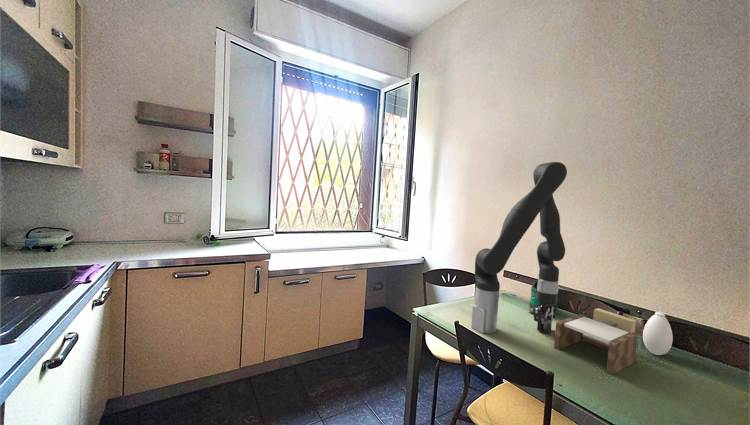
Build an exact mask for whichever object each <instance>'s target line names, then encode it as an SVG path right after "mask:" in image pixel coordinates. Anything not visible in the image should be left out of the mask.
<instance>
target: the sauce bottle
mask: <svg viewBox="0 0 750 425" xmlns="http://www.w3.org/2000/svg"><path fill="white" fill-rule="evenodd" d="M642 340H643V341H642V342H643V344H644V346H645V348H646V349H647V350H648V351H649V353H651V354H653V355H655V356H662V355H665V354H667V353H668V352H669V351H670V349H671V347H672V345H673V340H674V337H673V331H672V328H671V325H670V323H669V320H668V319H667V317H666V314H665V313H663V312H662V305H660V307H659V311H656V312H654V314H653V315H651V317H650V318H648V320H647V321H646V323H645V325H644V327H643V332H642Z"/></svg>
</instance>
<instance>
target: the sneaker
mask: <svg viewBox="0 0 750 425" xmlns="http://www.w3.org/2000/svg"><path fill="white" fill-rule="evenodd" d="M537 284H538V280H537V281H536V280H535V282H534V283H532V285H531V288H530V301H529V309H528V312H529V314H534V311H533V308H534V307H535V308H537V307H538V305H539V301H538V300H537V299H536V296H537ZM541 315H543V314H541ZM543 316H544V315H543Z"/></svg>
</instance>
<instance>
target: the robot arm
mask: <svg viewBox="0 0 750 425" xmlns="http://www.w3.org/2000/svg"><path fill="white" fill-rule="evenodd" d="M567 174H568V169H567V167H566V165H565V164H564V163H563V162H559V161H550V162H545V163H541V164H539V165H537V166H536V167H535V169H534V170H533V175H532V176H533V181H534V186H533V187H532V189H531V190H530V191H529V192H528V193H527V194H526V195H525V196H523V197H522V198H521V199H519V201H517V202H516V203H515V205H513V207H512V208H511V210H509V212H508V213H507V215H506V216H505V218H504V221H503V223H502V228H501V230H500V234H499V237H498V238H497V240H496V242H495V243H494V245H493V246H492V247H491V248H482V249H480V250H479V251H478V252H477V254H476V256H475V260H474V280H475V293H474V304H473V305H472V311H471V312H472V313H471V325H470V326H471V328H472V329H474V330H476V331H477V332H479V333H481V334H495V333H496V332H497V328H498V327H497V326H498V315H499V300H500V291H501V289H500V288H501V285H500V281H499V278H498V274H500V272H502V270H503V269H504V268H505V267H506V265H507V262H508V261H509V259H510V257H511V255H512V253H513V251H514V250H515V248H516V246H517V245H518V244H519V242H520V241H521V239H522V238H523V237H524V235H525V234H526V232H527V231H528V230H529V228H531V225H532V224H533V223H534V221H535V220H536V218H537V217H538V215H539V226H540V227H539V229H540V230H539V231H540V234H541V236H542V237H543V238H544V239H545V241H542V242H540V243H539V244H538V246H537V249H536V256H537V263H538V267H539V268H538V269H539V271H538V280H537V281H538V284H537V296H536V299H537V300H538V301H539V305H538V307H537V308H535V307H534V308H533V311H534V313H533V320H534V321H535V322H537V325H536V330H537V332H539V331H540V333H542V332H543V328H544V320H545V319H546V318H549V319H551V320H552V322H553V320H554V319H556V316H557V313H558V307H559V305H558V304H557V303H558V297H559V296H558V295H559V275H560V269H559V267H558V266H557V265H555V263H554V262H560V261H562V260H563V259H564V257H565V255H566V246H565V242H564V239H563V237H562V233H561V217H560V213H559V212H560V211H559V209H558V207H557V205H556V202H555V198H554V193H555V192H556V191H557V190H558V189H559V187H560V186H561V185H562V184H563V182H564V181H565V179H566V178H567ZM541 314H543V315H544V316H543V315H541ZM541 317H542V320H541Z"/></svg>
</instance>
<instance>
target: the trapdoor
mask: <svg viewBox="0 0 750 425" xmlns="http://www.w3.org/2000/svg"><path fill="white" fill-rule="evenodd" d="M592 317H593V319H592V318H589V317H587V316H585V317H582V318H579V319H576V320H573V321H569V322H566V323H564V326H566V327H568V328H571V329H573V330H576V331H578V332H581V333H583V335H585V336H588V337H590V338H593V339H595V340H598V341H600V342H603V343H605V344H608V345H609V343H610V342H612V341H614V340H616V339H619V338H621V337H623V336H625V335H627V334H630V333H632V332H633V333H636V332H635V331H636V323H637V320H635V319H633V318H629V317H626V316H624V315H621V314H617V313H614V312H611V311H607V310H604V309H602V308H594V309H593V315H592Z"/></svg>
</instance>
